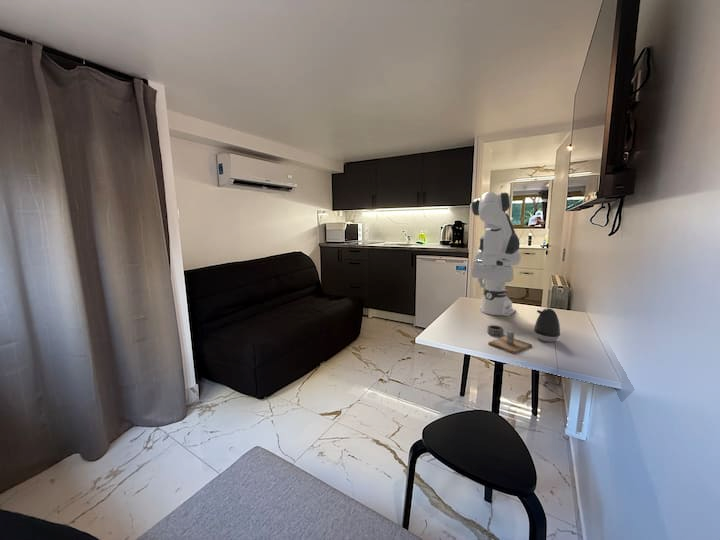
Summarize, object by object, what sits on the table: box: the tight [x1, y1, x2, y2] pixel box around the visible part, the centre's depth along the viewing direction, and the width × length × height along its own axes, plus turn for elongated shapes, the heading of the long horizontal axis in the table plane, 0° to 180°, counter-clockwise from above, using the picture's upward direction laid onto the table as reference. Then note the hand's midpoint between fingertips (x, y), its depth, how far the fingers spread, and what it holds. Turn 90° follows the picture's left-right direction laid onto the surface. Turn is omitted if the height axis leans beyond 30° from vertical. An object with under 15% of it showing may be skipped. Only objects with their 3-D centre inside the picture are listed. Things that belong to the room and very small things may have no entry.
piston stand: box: [488, 331, 533, 355], centre depth 131 cm, size 14×12×6 cm
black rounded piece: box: [533, 308, 561, 343], centre depth 136 cm, size 10×10×15 cm
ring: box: [487, 324, 504, 337], centre depth 146 cm, size 7×7×3 cm
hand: (490, 288), depth 145 cm, fingers open, 8 cm apart
